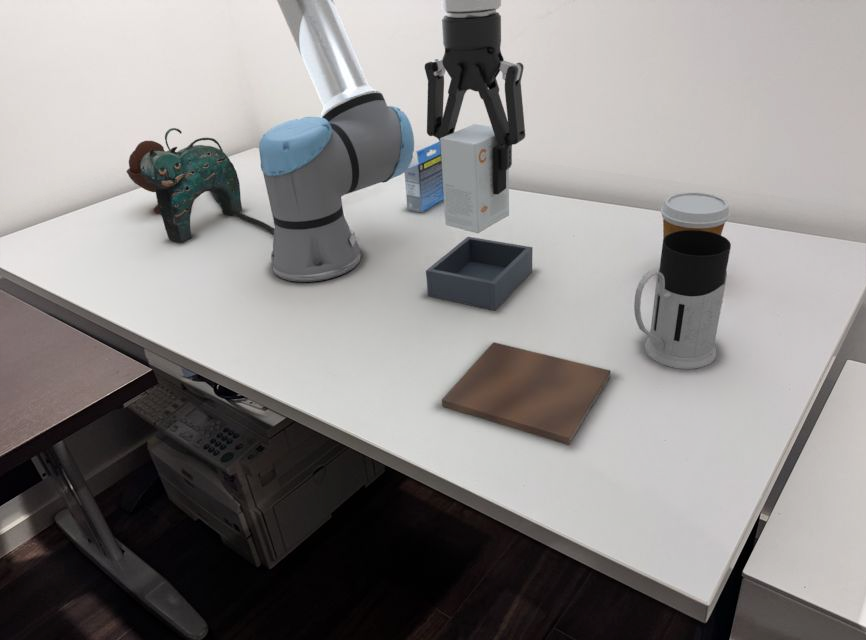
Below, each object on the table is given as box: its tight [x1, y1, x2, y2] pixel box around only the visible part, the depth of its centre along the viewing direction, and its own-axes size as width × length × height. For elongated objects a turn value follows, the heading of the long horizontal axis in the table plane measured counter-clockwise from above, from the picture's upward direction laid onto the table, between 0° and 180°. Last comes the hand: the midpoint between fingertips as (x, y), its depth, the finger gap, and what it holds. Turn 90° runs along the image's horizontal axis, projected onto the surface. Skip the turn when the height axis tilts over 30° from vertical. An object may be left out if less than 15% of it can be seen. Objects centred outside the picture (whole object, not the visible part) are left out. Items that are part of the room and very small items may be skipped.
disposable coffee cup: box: [660, 191, 731, 240], centre depth 100 cm, size 10×10×12 cm
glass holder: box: [633, 230, 732, 370], centre depth 81 cm, size 9×14×15 cm, turn 125°
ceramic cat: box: [140, 127, 243, 244], centre depth 130 cm, size 20×6×20 cm, turn 150°
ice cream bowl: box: [126, 140, 165, 215], centre depth 141 cm, size 11×11×15 cm
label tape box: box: [404, 140, 444, 213], centre depth 133 cm, size 9×4×12 cm, turn 144°
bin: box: [425, 236, 534, 311], centre depth 105 cm, size 12×14×4 cm
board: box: [441, 342, 611, 445], centre depth 81 cm, size 16×14×1 cm
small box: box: [440, 123, 510, 234], centre depth 97 cm, size 8×6×13 cm
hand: (476, 187), depth 97 cm, fingers closed on small box, 7 cm apart
